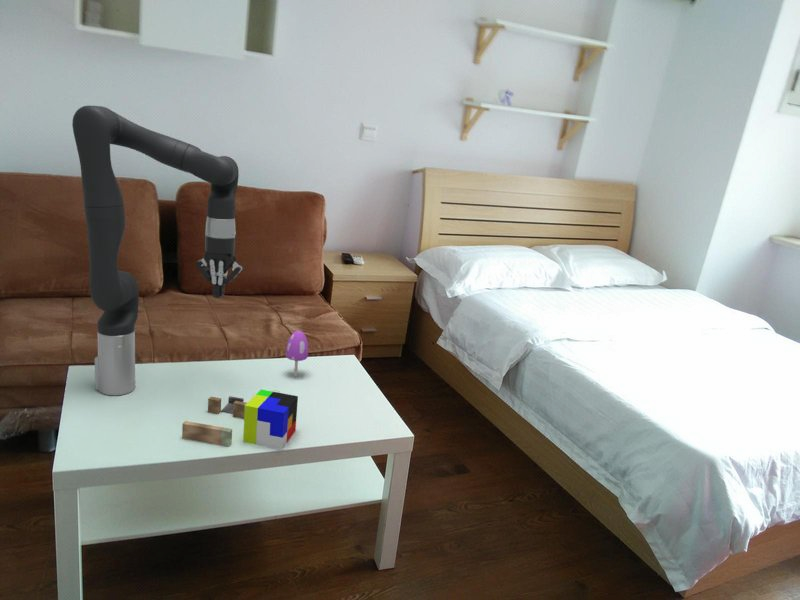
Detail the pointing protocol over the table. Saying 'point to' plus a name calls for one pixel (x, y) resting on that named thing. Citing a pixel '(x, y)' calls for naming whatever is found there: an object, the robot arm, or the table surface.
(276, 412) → the puzzle toy
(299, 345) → the toy
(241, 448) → the table surface
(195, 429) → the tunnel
